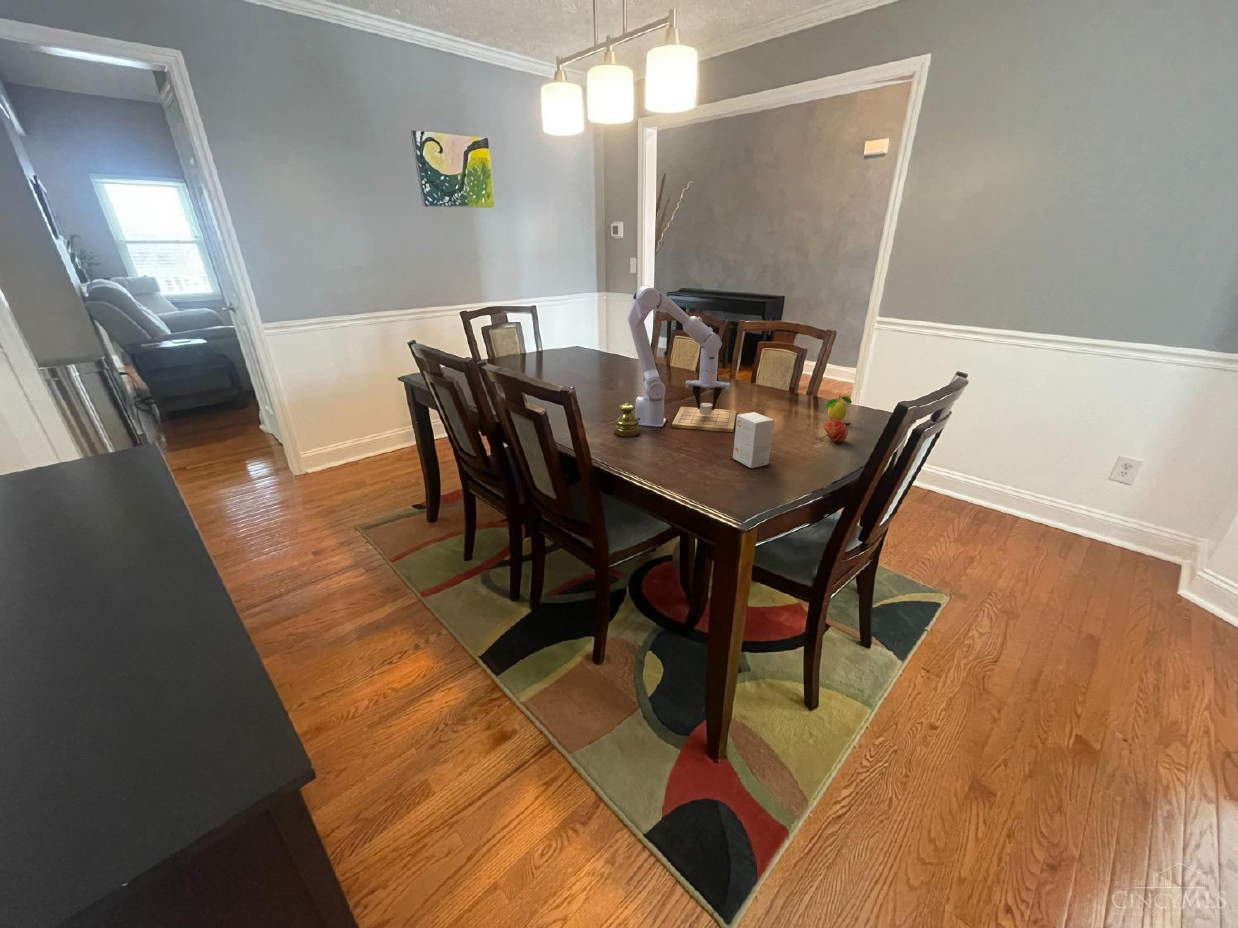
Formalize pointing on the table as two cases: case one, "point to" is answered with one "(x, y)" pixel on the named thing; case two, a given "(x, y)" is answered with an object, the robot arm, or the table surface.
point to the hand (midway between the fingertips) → (706, 408)
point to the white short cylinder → (706, 408)
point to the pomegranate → (836, 430)
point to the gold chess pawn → (627, 421)
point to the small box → (753, 439)
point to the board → (705, 419)
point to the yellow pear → (837, 408)
